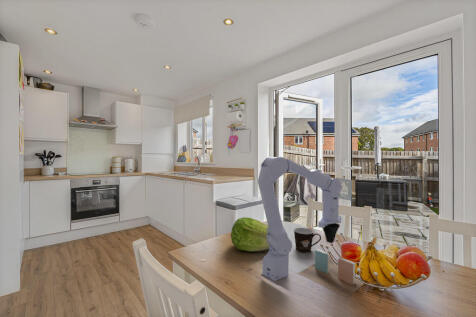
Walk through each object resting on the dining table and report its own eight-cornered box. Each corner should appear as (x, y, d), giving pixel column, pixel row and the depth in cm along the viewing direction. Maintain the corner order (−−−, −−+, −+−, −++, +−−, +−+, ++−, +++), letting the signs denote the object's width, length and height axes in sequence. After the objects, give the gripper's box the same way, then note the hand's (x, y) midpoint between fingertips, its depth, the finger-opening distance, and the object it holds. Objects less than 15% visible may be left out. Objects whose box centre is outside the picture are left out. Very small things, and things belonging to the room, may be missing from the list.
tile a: (327, 273, 79) (327, 254, 79) (314, 268, 83) (315, 250, 83) (329, 272, 80) (329, 253, 80) (317, 266, 84) (317, 249, 84)
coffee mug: (291, 253, 98) (292, 232, 98) (295, 246, 106) (296, 226, 106) (319, 259, 93) (319, 236, 93) (321, 251, 101) (321, 230, 100)
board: (348, 301, 66) (348, 297, 66) (297, 276, 80) (297, 273, 80) (372, 278, 78) (372, 275, 78) (325, 260, 92) (325, 257, 92)
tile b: (352, 284, 72) (353, 264, 72) (338, 278, 76) (338, 258, 76) (354, 283, 74) (355, 262, 73) (340, 276, 77) (340, 257, 77)
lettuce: (278, 262, 91) (283, 228, 93) (224, 248, 99) (230, 216, 100) (281, 252, 108) (285, 223, 109) (235, 240, 115) (239, 213, 116)
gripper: (331, 212, 78) (330, 250, 78) (349, 207, 87) (348, 240, 87) (313, 209, 83) (313, 244, 83) (332, 204, 93) (331, 235, 93)
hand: (330, 242), depth 86 cm, fingers closed
